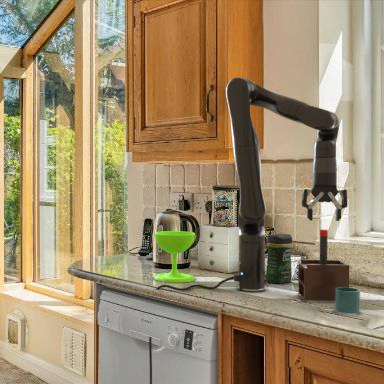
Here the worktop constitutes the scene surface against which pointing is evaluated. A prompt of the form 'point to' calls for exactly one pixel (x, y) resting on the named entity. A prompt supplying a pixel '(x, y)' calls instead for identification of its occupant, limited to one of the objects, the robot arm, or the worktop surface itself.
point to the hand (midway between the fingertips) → (323, 220)
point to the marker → (323, 246)
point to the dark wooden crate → (321, 279)
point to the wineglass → (174, 253)
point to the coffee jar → (279, 258)
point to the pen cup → (347, 300)
